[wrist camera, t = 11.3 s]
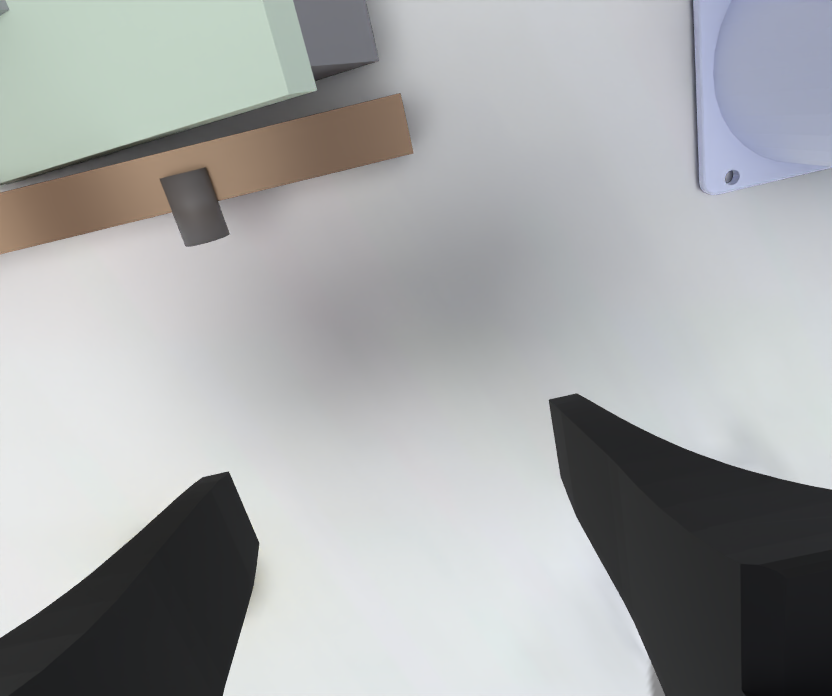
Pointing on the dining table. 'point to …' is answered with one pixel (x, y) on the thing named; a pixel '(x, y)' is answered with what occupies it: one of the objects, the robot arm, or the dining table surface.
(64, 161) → the trapdoor
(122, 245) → the dining table surface
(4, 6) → the grey block
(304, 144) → the frame
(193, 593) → the robot arm
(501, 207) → the dining table surface
